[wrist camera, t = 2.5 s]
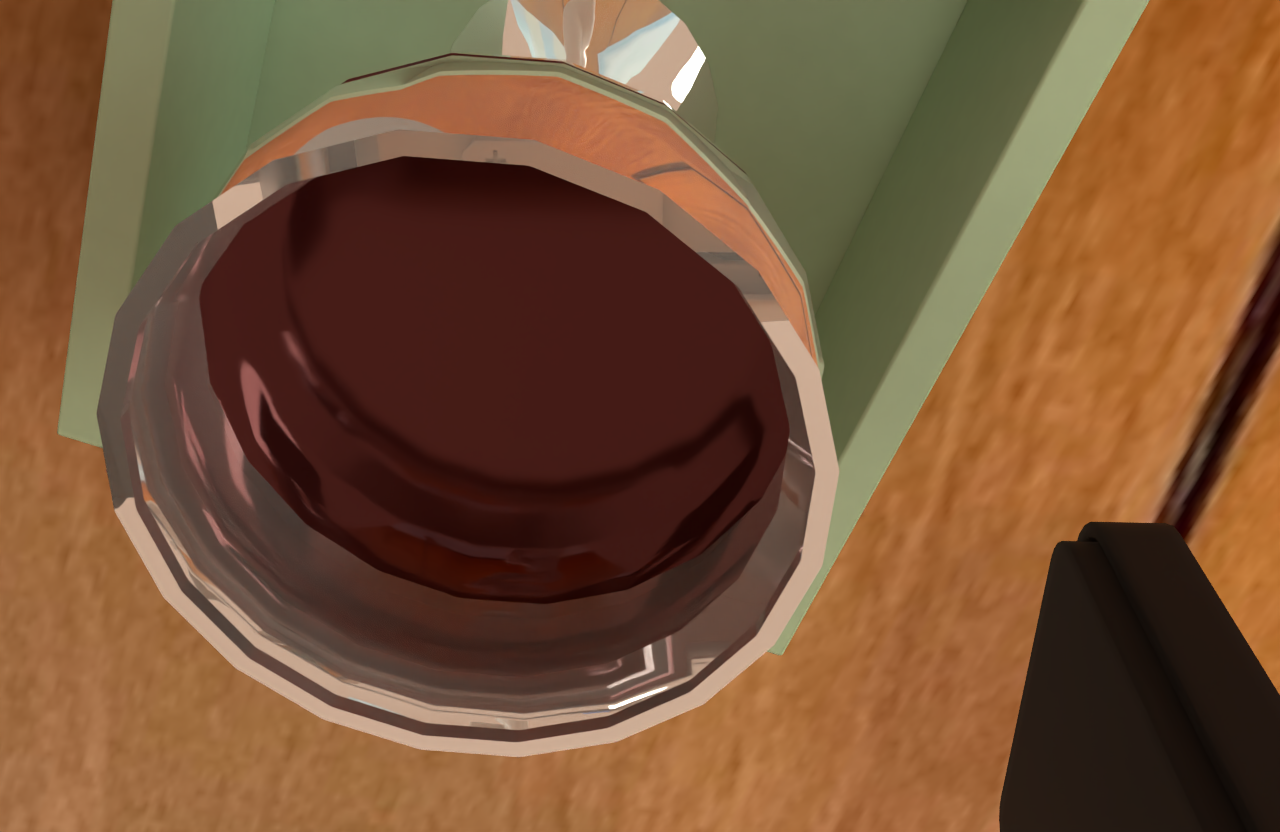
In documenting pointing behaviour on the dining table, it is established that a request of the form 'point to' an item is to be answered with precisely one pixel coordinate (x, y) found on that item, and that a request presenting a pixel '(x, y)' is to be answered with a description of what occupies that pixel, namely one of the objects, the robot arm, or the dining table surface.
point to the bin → (745, 130)
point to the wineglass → (483, 395)
